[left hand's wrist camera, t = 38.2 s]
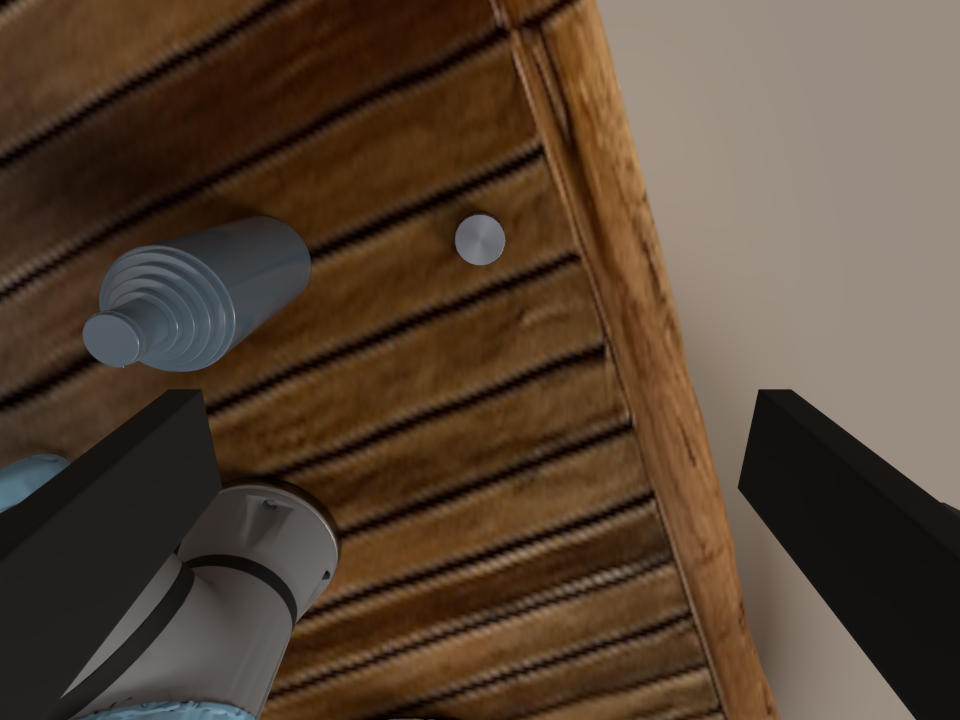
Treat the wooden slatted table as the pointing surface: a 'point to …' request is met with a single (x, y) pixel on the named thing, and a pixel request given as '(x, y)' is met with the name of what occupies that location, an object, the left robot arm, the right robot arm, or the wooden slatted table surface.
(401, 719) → the fossil
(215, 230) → the bottle
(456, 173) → the wooden slatted table surface
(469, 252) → the cap
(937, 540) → the left robot arm
